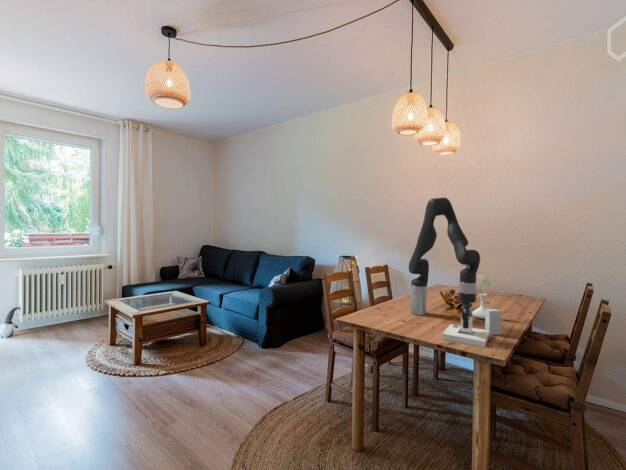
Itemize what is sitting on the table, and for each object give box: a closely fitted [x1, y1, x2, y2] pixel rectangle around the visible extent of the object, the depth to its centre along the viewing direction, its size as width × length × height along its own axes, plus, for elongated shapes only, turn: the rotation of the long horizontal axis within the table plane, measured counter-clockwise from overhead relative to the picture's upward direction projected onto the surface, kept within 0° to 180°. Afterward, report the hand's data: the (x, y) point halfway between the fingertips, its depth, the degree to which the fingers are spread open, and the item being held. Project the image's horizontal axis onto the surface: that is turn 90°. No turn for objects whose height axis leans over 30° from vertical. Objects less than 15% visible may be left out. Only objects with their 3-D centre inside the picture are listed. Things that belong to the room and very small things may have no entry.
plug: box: [460, 313, 474, 333], centre depth 160 cm, size 4×4×9 cm
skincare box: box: [484, 308, 502, 336], centre depth 166 cm, size 6×4×12 cm
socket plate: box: [442, 323, 490, 348], centre depth 160 cm, size 18×18×3 cm
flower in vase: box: [472, 273, 491, 320], centre depth 194 cm, size 13×11×25 cm
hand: (466, 326), depth 160 cm, fingers closed on plug, 4 cm apart
